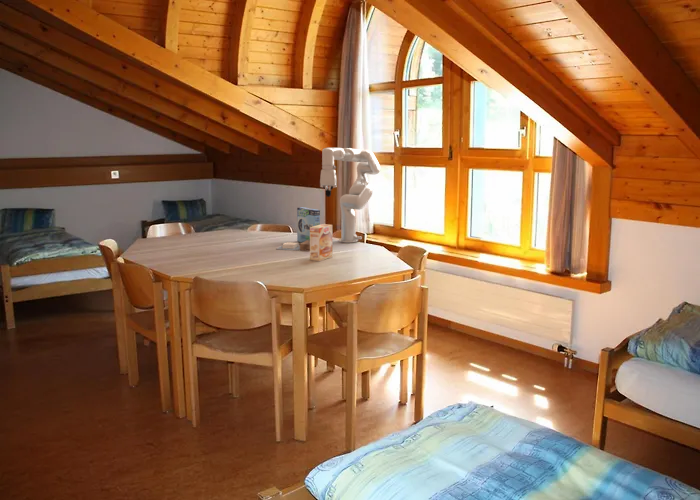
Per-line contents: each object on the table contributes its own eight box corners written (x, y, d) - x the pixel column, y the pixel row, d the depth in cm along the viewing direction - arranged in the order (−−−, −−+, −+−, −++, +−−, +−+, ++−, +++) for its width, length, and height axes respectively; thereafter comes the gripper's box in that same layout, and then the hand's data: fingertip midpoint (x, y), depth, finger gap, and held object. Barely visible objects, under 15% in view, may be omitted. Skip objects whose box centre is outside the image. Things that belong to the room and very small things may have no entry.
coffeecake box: (319, 261, 390) (319, 227, 387) (309, 260, 394) (309, 226, 390) (333, 257, 403) (332, 224, 400) (322, 255, 407) (322, 223, 403)
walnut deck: (320, 247, 436) (320, 240, 435) (313, 250, 422) (313, 244, 422) (306, 246, 438) (306, 240, 437) (299, 250, 425) (299, 243, 424)
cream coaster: (286, 242, 438) (286, 245, 438) (282, 244, 430) (282, 248, 431) (298, 242, 436) (298, 246, 436) (294, 244, 428) (294, 248, 429)
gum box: (297, 241, 457) (296, 207, 453) (303, 240, 460) (302, 207, 456) (314, 245, 442) (313, 210, 438) (320, 244, 445) (320, 209, 441)
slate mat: (306, 246, 439) (306, 245, 439) (298, 250, 424) (298, 250, 424) (284, 245, 443) (284, 244, 443) (275, 249, 428) (275, 248, 428)
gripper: (341, 167, 433) (341, 196, 436) (318, 167, 437) (319, 195, 440) (337, 168, 426) (338, 197, 429) (315, 167, 430) (315, 196, 433)
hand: (328, 196), depth 435 cm, fingers closed
